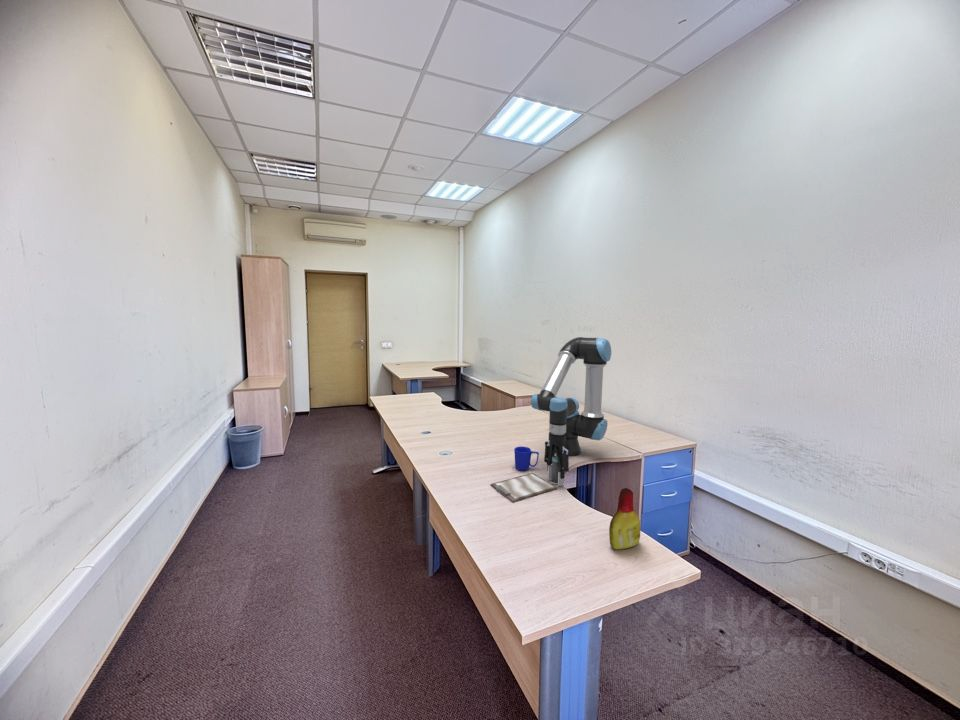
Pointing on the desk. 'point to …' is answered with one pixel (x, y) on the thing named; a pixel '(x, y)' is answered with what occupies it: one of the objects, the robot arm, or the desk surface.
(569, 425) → the robot arm
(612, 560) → the desk surface
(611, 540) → the bottle
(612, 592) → the desk surface
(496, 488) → the clipboard
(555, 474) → the marker
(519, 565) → the desk surface
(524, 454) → the mug
